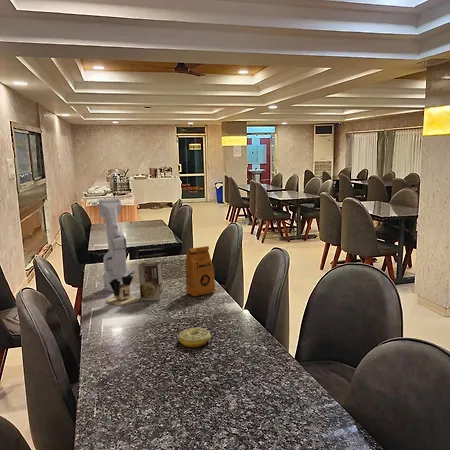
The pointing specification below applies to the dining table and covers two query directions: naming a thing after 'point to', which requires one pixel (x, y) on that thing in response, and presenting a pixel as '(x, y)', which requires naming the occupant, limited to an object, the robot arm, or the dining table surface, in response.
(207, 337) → the decorated donut
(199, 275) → the coffee package
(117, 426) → the dining table surface
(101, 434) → the dining table surface
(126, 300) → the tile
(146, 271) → the coffee box
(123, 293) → the letter block
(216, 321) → the dining table surface
